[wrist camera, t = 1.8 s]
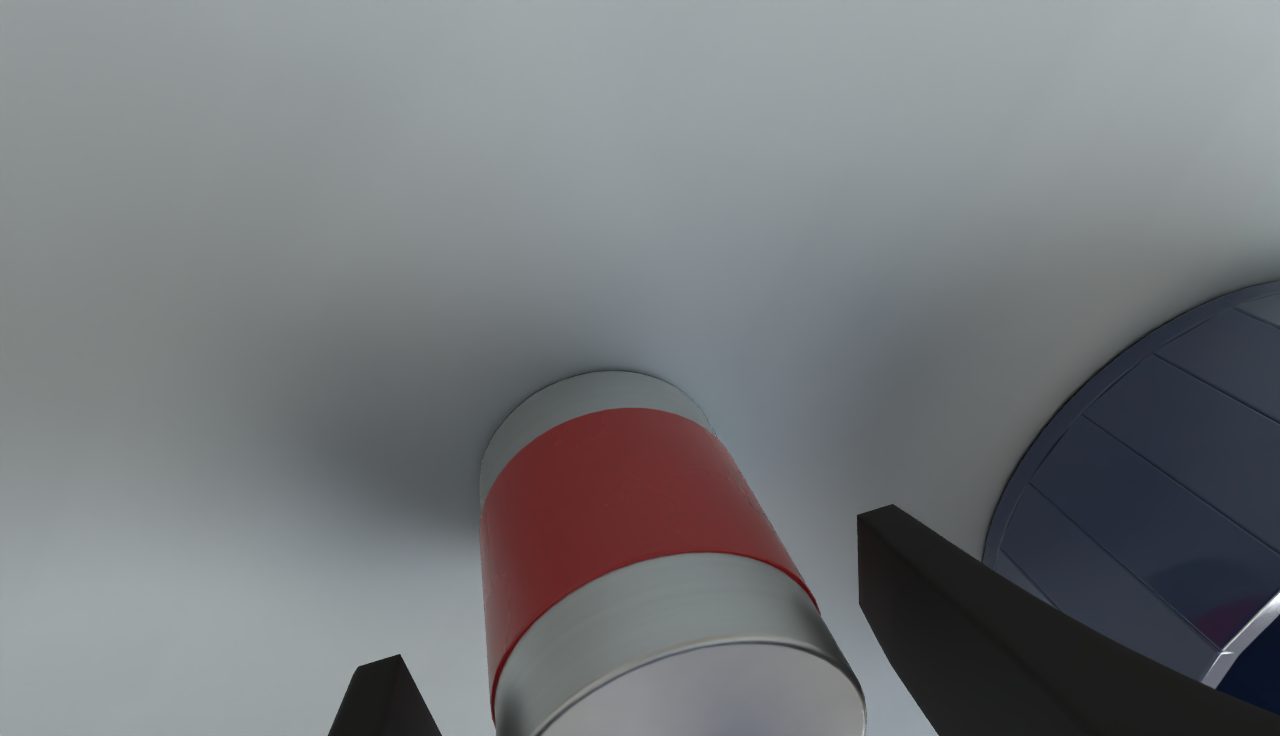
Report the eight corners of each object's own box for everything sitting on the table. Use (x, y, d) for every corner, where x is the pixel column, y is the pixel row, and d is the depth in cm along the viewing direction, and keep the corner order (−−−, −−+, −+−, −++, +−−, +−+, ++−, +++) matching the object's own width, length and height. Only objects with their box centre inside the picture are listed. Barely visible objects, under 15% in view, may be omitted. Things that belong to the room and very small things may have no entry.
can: (728, 529, 16) (875, 818, 11) (512, 594, 16) (550, 934, 10) (701, 337, 14) (872, 586, 8) (443, 406, 13) (444, 719, 8)
